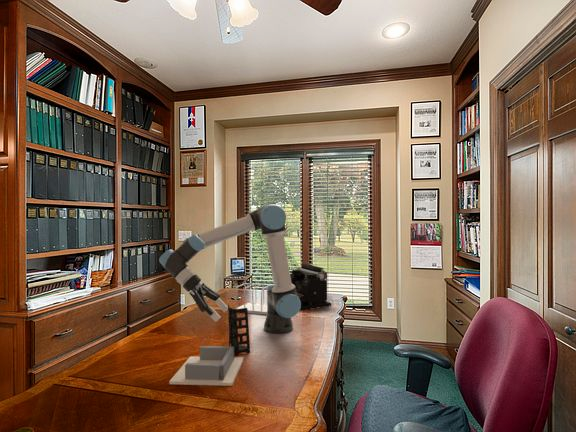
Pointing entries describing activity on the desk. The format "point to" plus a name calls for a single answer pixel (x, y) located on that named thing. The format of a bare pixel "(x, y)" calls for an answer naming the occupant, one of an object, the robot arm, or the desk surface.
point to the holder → (234, 330)
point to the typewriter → (310, 286)
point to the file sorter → (252, 306)
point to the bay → (210, 367)
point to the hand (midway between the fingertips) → (222, 314)
